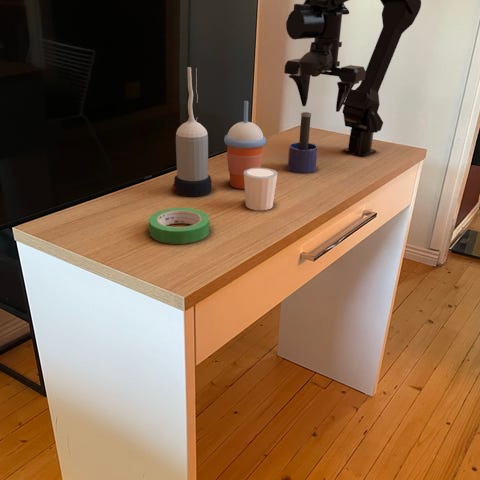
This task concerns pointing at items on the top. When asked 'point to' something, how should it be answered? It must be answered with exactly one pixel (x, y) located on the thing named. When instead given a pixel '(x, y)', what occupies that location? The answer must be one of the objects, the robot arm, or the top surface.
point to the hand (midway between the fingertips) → (320, 108)
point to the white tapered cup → (259, 188)
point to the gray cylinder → (304, 130)
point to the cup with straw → (243, 149)
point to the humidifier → (192, 154)
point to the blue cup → (302, 158)
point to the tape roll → (179, 234)
